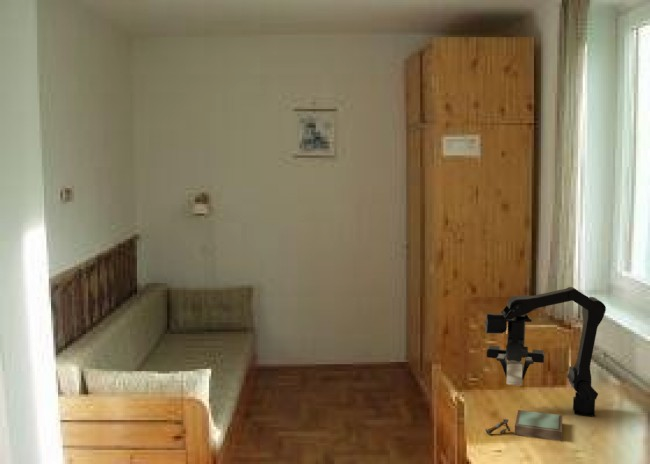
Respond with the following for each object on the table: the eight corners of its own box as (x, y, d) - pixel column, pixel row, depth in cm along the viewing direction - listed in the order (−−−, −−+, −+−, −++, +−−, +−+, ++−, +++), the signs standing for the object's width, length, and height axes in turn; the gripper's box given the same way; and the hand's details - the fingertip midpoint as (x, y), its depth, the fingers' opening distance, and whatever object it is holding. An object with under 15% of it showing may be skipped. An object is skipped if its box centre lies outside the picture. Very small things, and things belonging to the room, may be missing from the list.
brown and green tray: (562, 424, 224) (562, 414, 223) (561, 441, 211) (561, 430, 210) (517, 418, 228) (518, 409, 228) (514, 434, 215) (514, 424, 215)
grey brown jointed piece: (513, 430, 217) (508, 418, 216) (492, 442, 215) (487, 430, 214) (510, 427, 219) (506, 416, 218) (489, 440, 217) (484, 428, 216)
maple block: (522, 381, 236) (523, 361, 235) (521, 385, 231) (522, 365, 230) (507, 379, 237) (508, 360, 236) (506, 384, 233) (507, 364, 232)
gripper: (485, 337, 228) (484, 382, 230) (544, 342, 221) (542, 389, 223) (489, 329, 238) (487, 372, 240) (545, 333, 232) (543, 378, 234)
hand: (514, 378), depth 234 cm, fingers closed on maple block, 5 cm apart
